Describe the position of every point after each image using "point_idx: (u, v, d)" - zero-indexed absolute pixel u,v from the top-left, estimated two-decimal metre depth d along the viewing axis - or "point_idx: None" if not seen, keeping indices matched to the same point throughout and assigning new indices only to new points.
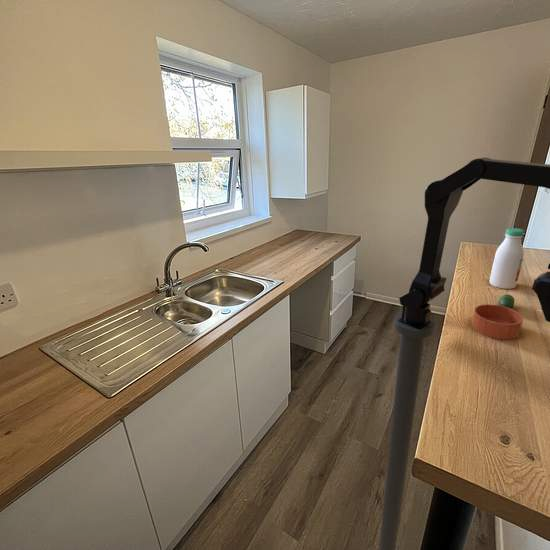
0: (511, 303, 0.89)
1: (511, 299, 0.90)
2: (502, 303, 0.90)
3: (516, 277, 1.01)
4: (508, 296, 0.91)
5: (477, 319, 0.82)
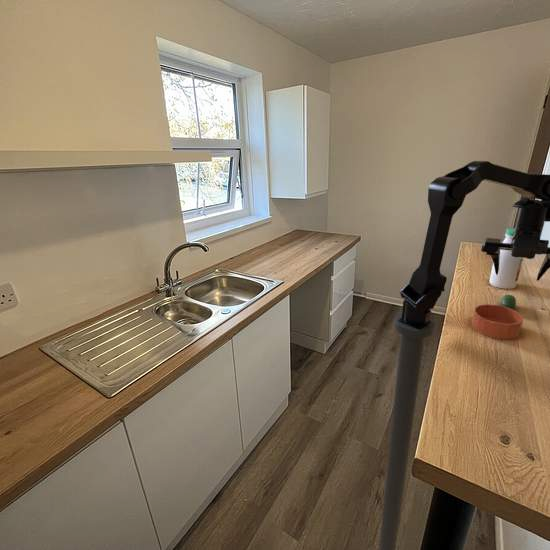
0: (513, 304, 0.88)
1: (514, 300, 0.90)
2: (505, 303, 0.89)
3: (516, 277, 1.01)
4: (511, 297, 0.91)
5: (477, 319, 0.82)
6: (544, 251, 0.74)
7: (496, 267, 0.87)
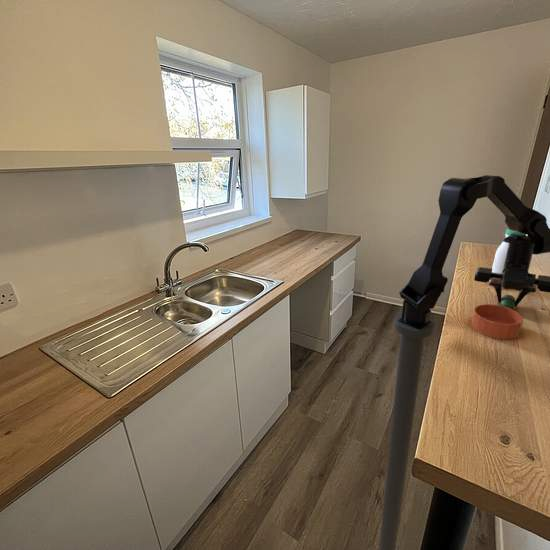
0: (513, 304, 0.88)
1: (513, 300, 0.90)
2: (504, 303, 0.89)
3: None
4: (510, 297, 0.91)
5: (477, 319, 0.82)
6: (531, 284, 0.80)
7: (499, 297, 0.91)
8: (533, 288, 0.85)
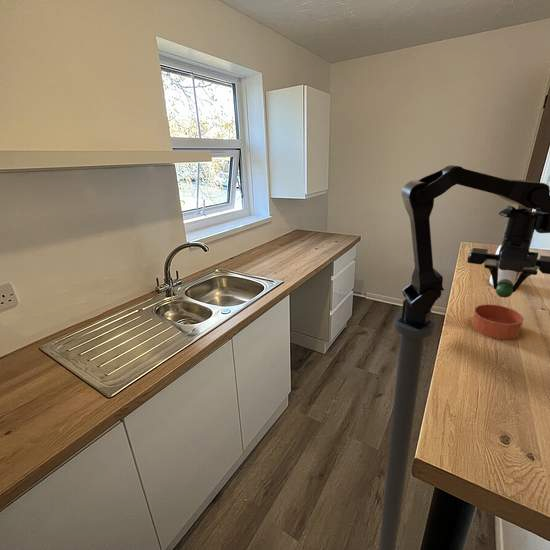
0: (510, 289, 0.77)
1: (511, 285, 0.79)
2: (500, 288, 0.78)
3: (516, 277, 1.01)
4: (507, 281, 0.80)
5: (477, 319, 0.82)
6: (533, 264, 0.69)
7: (494, 281, 0.80)
8: (534, 270, 0.74)
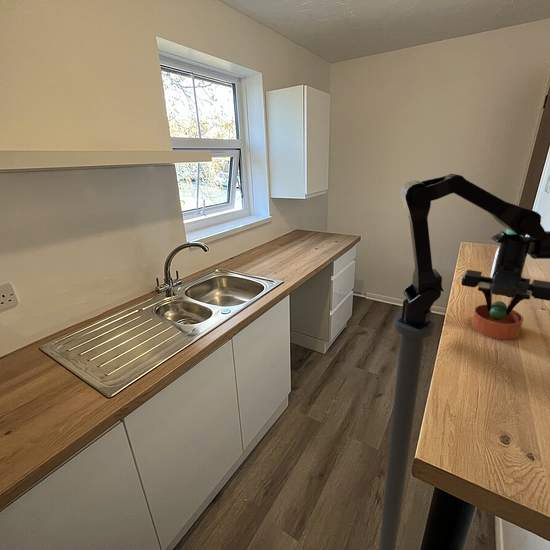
0: (504, 312, 0.78)
1: (504, 307, 0.79)
2: (494, 311, 0.79)
3: None
4: (501, 303, 0.81)
5: (477, 319, 0.82)
6: (525, 290, 0.70)
7: (488, 303, 0.81)
8: (527, 294, 0.75)
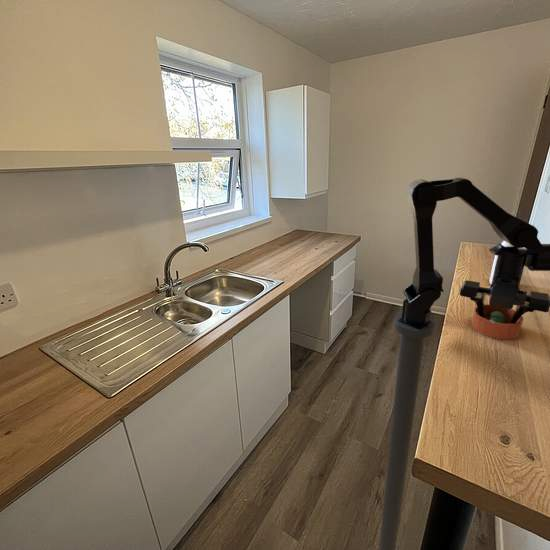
0: (502, 323, 0.79)
1: (503, 318, 0.81)
2: (492, 321, 0.80)
3: None
4: (500, 314, 0.82)
5: (477, 319, 0.82)
6: (522, 302, 0.71)
7: (480, 312, 0.83)
8: (531, 307, 0.75)
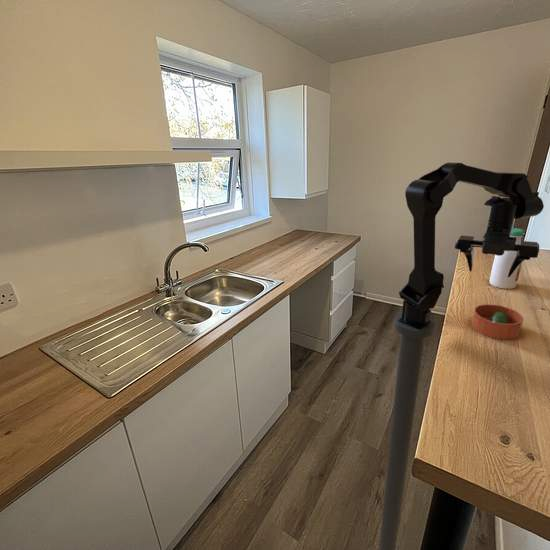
0: None
1: (507, 321, 0.80)
2: (497, 322, 0.79)
3: (516, 277, 1.01)
4: (505, 316, 0.81)
5: (477, 319, 0.82)
6: (512, 248, 0.76)
7: (469, 264, 0.89)
8: None
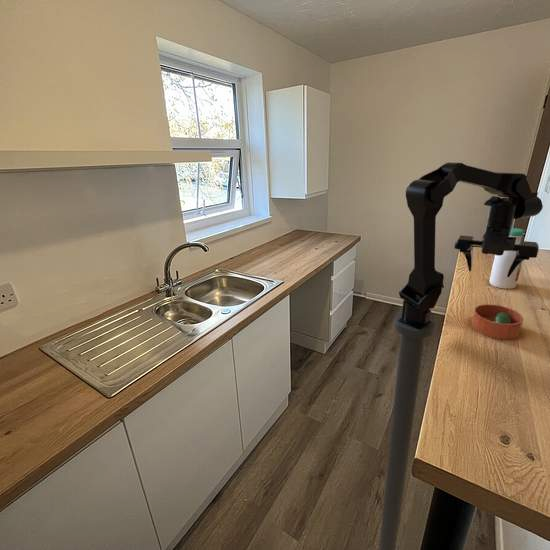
0: None
1: None
2: (503, 323, 0.79)
3: (516, 277, 1.01)
4: (510, 319, 0.81)
5: (477, 319, 0.82)
6: (512, 248, 0.76)
7: (469, 264, 0.89)
8: None
